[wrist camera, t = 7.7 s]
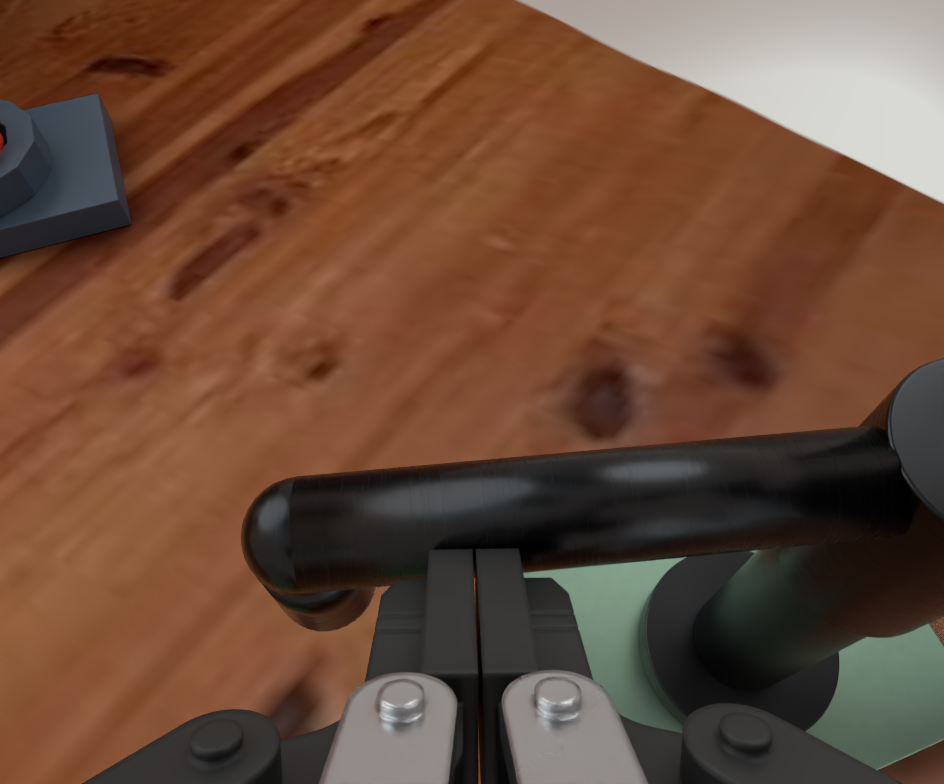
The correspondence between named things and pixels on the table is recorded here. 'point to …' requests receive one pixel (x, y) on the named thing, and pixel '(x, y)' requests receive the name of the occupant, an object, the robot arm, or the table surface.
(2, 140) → the button
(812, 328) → the table surface
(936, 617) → the spout
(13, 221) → the button box
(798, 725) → the tap base
